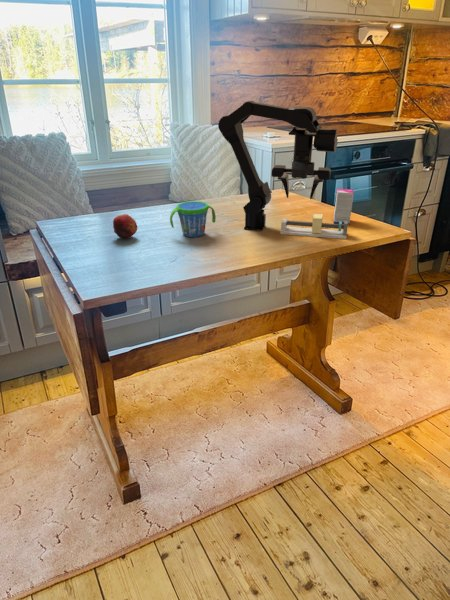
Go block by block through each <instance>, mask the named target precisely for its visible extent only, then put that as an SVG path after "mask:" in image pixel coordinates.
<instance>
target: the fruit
mask: <svg viewBox="0 0 450 600" xmlns="http://www.w3.org/2000/svg"><path fill="white" fill-rule="evenodd" d="M112 222H113V223H112V225H113V232H114V233H115V234H116V235H117V236H118V238H120V239H123V240H126V238H127V239H130V238H131V237H133V236H134V235H135V234H136V233H137V231H138V225H137V222H136V220H135V218H133V217H132V216H131V215H129V214H126V213H124V214H119V215H117V216H115V217H114V218H113V221H112Z"/></svg>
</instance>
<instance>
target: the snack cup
mask: <svg viewBox="0 0 450 600" xmlns="http://www.w3.org/2000/svg"><path fill="white" fill-rule="evenodd" d="M209 209H211V215H212V218H211V222H212V223H213V224H215V222H216V219H217V218H216V211H215V209H214V208H213V207H212V206H211V205H209V204H208V203H206V202H203V201H199V200H198V201H195V200H193V201H190V200H189V201H185V202H181V203H178V204H177V205H176V207H175V208H174V209H173V210H171V214H170V217H169V223H170V227H171V228H173V229H174V221H173V217H174V215H176V213H177V214H178V217H179V222H180V226H181V232H182V235H183V236H185V237H188V238H197V237H202V236H203V235H204V234H205V232H206V223H207V216H208V215H207V214H208V210H209Z"/></svg>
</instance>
